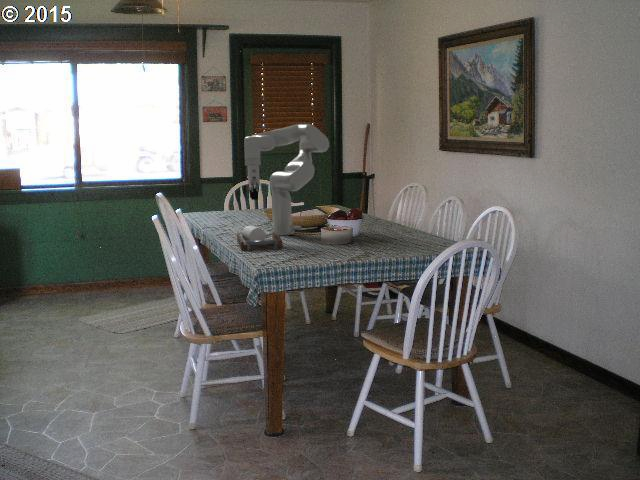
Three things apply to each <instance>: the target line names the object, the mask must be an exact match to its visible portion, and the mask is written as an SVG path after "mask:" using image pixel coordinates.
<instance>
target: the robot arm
mask: <svg viewBox="0 0 640 480" xmlns="http://www.w3.org/2000/svg"><path fill="white" fill-rule="evenodd" d="M243 141H244V142H243V144H244V145H243V147H244V151H243V152H244V166H247V180H248V185H249V198H250V199H251V201H252V200H253V201H255V200H257V201H258V200H259V190H258V186H259V187H260V186H261V181H260V180H261V179H260V167H259V166H261V152H269V151H272V150H273V149H274V148H275V147H283V146H288V145H290V144H293V143H297V142H299V144H298V145H299V146H298V149H299V151H298V155H297V156H296V157H294V158H293V159H292V160H291V161H290V162H289V163H288V164H286V166H285V167H284V170H283V171H275V172H273V173H271V175H270V177H269V186H270V191H271V203H272V205H271V207H272V230H271V231H269V233H270V236H272V231H275V232H276V233H277V234H278V236H290V234H292V235H294V234H293V233H295V234H296V230H297V231H299V230H302V226H301V225H293V224H292V220H293V219H292V197H291V194H290V192H298V191H300V190H301V188H303V187H305V186H306V184H308V183H309V182H310V181H311V180H312V179H313V177H314V175H315V171H316V170H315V166H314V163H313V159H312V157H313V156H312V153H324V152H327V151H328V149H329V147H330V140H329V139H328V137H327V136H326V135H325V134H324V133H323V132H322V131H321V130H319V129H318V127H316V126H315V125H313V124H311V123H297V124H292V125H289V126H286V127H282V128H278V129H273V130H268V131H265V132H260V133H259V132H258V133H256V134H253V135H251V136H249V135H248V136H245V137H244V140H243Z"/></svg>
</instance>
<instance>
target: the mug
mask: <svg viewBox="0 0 640 480" xmlns="http://www.w3.org/2000/svg"><path fill="white" fill-rule="evenodd" d="M270 236H271V234H270V231H264V229H262V228H261V227H259V226H254V225H251V224H250V225H247V226H245V227H243V228H242V231H241V237H242V239H243V241H244V242H247V241H262V240H266V237H270Z"/></svg>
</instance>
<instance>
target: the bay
mask: <svg viewBox="0 0 640 480" xmlns="http://www.w3.org/2000/svg"><path fill="white" fill-rule="evenodd" d="M271 231H272V235H271V236H272V239H267V240H266V239H265V240H262V241H246V244H245V240H244V239H243V237H242V234H240V232H236V242H237V244H238V246H239V249H240V251H247V252H251V251H259V250H260V251H261V250H275V251H277V250H281V249H283V239H282V238H281V237H280V235H278V234H277V233H276V232H275V231H273V230H271Z"/></svg>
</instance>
